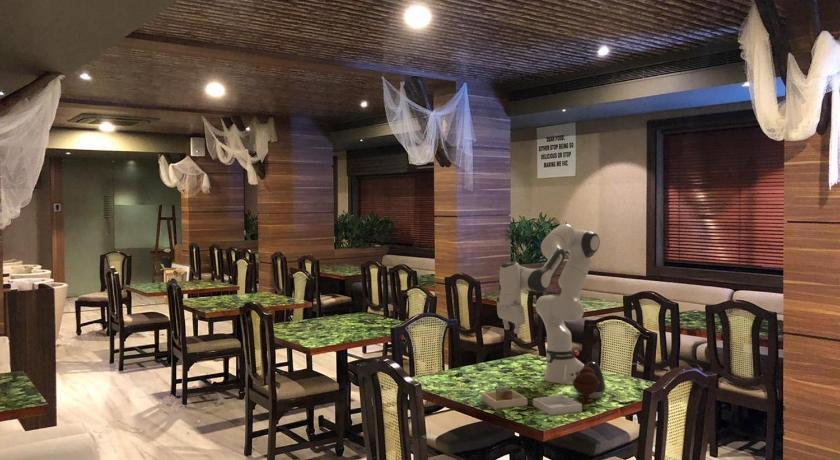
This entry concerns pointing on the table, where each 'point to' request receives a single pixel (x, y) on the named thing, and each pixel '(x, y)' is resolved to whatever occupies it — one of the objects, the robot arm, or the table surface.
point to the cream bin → (491, 401)
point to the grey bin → (557, 405)
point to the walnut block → (503, 394)
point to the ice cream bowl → (586, 383)
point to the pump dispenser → (599, 375)
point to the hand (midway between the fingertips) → (511, 331)
